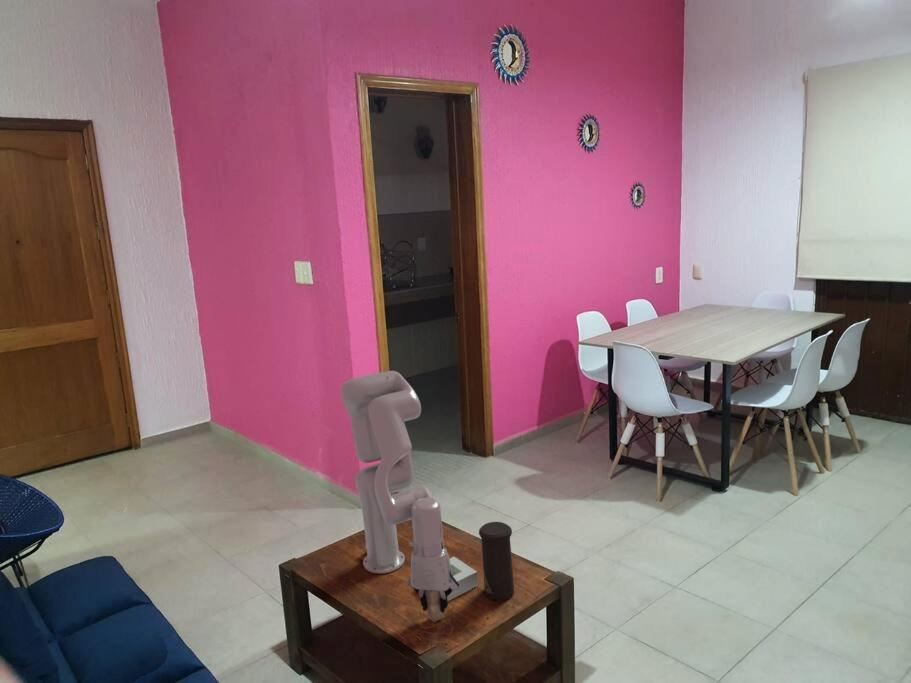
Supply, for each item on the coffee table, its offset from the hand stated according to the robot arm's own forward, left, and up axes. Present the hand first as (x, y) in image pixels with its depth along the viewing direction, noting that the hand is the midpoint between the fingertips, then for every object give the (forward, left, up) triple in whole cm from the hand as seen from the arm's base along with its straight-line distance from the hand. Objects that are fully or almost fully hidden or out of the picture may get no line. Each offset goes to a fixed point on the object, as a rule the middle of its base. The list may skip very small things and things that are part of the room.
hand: (434, 607), depth 179 cm
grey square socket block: (-10, +12, -3) cm, 16 cm away
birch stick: (0, 0, -3) cm, 3 cm away
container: (+2, +20, -4) cm, 20 cm away
